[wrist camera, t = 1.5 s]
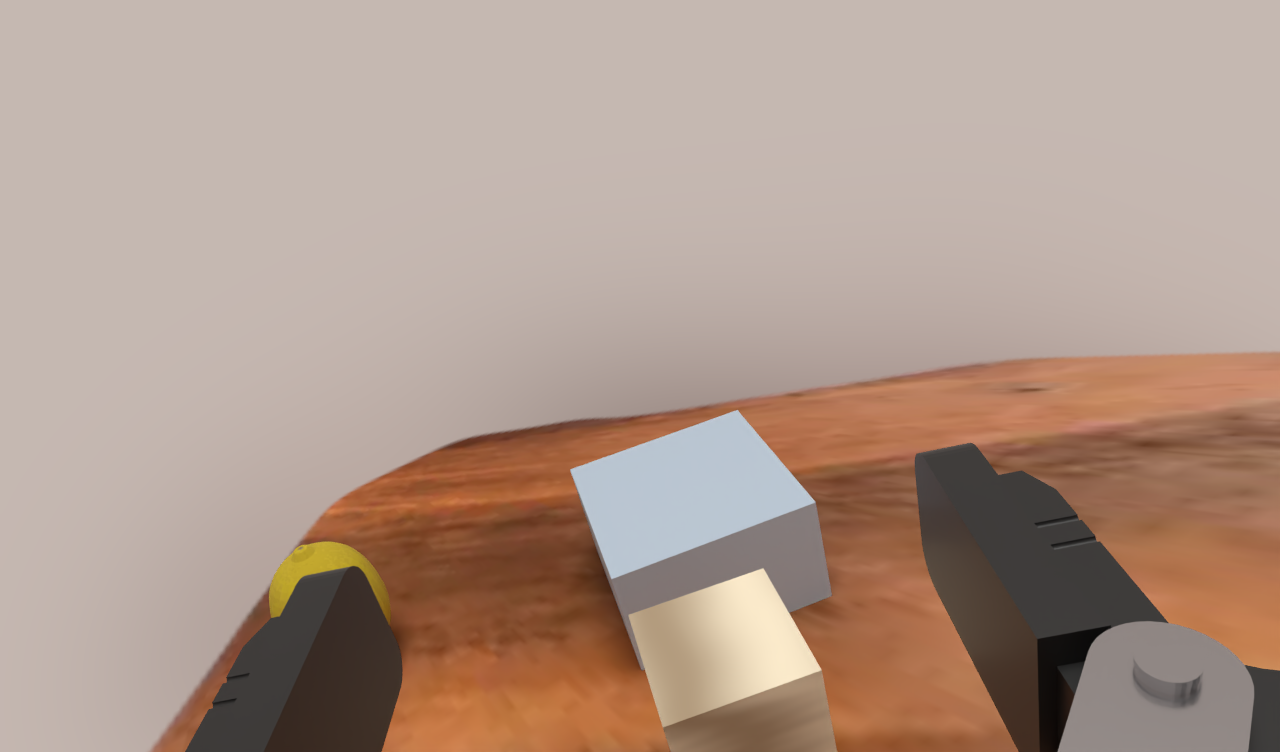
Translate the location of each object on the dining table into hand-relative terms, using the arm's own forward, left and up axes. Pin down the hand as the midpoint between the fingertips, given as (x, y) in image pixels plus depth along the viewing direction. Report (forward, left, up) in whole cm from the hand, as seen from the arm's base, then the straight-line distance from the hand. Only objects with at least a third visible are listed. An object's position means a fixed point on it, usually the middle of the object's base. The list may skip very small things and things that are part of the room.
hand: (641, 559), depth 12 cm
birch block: (-2, -10, -22) cm, 25 cm away
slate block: (-4, -25, -23) cm, 34 cm away
